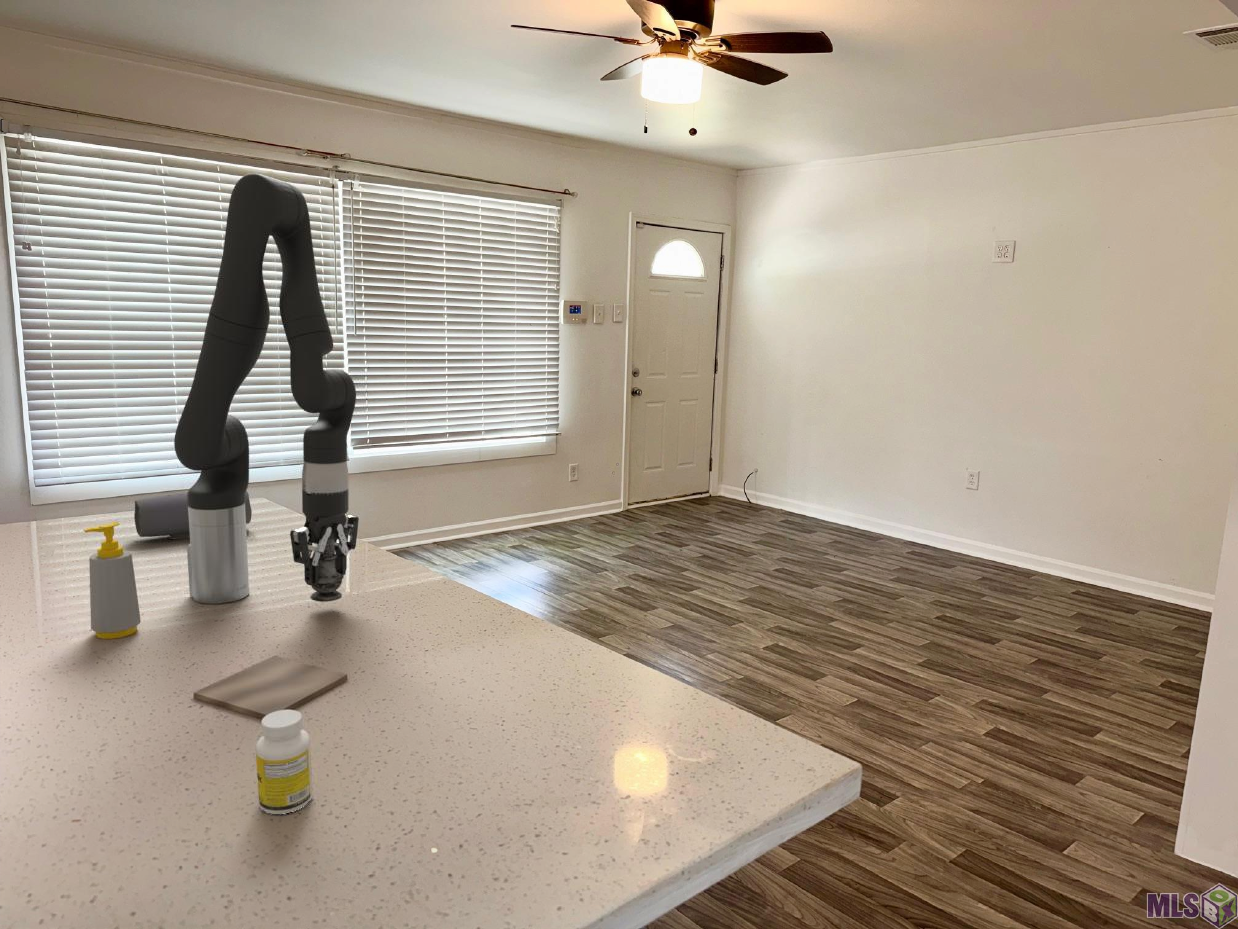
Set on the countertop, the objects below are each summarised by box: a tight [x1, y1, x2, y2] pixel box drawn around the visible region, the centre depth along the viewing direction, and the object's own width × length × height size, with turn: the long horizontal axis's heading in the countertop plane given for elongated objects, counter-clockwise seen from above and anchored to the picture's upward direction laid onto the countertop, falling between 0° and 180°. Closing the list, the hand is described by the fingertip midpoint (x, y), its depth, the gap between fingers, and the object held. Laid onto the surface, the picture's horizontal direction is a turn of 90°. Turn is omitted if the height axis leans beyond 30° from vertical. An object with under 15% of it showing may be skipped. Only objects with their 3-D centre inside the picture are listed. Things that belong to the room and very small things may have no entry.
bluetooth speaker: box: [133, 490, 253, 540], centre depth 187 cm, size 23×9×10 cm, turn 130°
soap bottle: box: [83, 521, 142, 640], centre depth 129 cm, size 7×7×18 cm
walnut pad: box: [193, 655, 349, 720], centre depth 114 cm, size 14×14×1 cm
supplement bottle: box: [255, 709, 314, 815], centre depth 87 cm, size 5×5×10 cm
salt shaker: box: [309, 539, 345, 603], centre depth 142 cm, size 6×6×12 cm
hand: (326, 579), depth 143 cm, fingers closed on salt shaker, 6 cm apart
